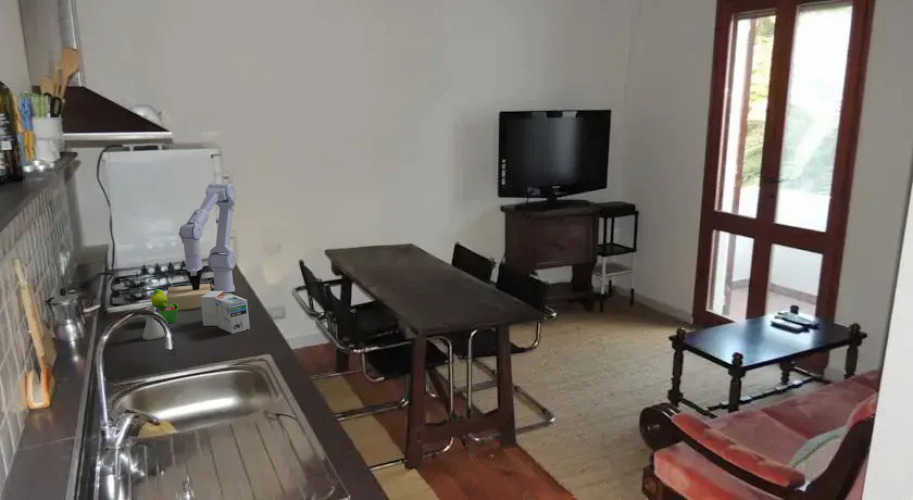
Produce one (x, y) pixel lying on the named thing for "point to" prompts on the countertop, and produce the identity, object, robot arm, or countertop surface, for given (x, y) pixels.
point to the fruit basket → (164, 306)
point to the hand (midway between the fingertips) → (196, 289)
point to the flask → (152, 328)
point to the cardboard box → (186, 302)
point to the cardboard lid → (187, 291)
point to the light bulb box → (232, 313)
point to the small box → (210, 307)
